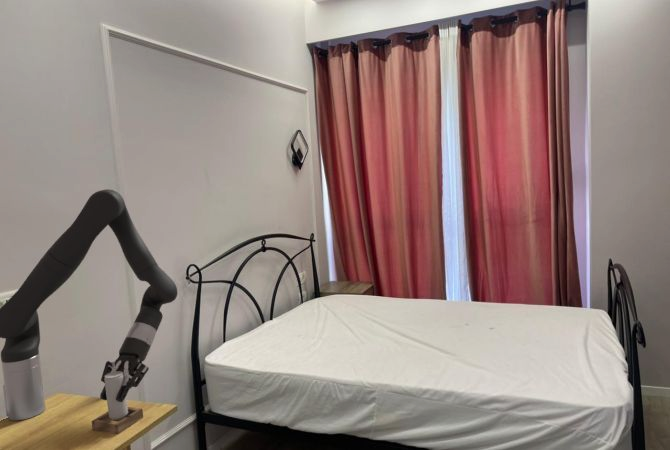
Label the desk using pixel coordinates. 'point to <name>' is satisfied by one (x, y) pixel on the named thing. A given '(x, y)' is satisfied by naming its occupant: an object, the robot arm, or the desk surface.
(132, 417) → the collar
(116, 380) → the beverage can
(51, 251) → the robot arm
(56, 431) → the desk surface
